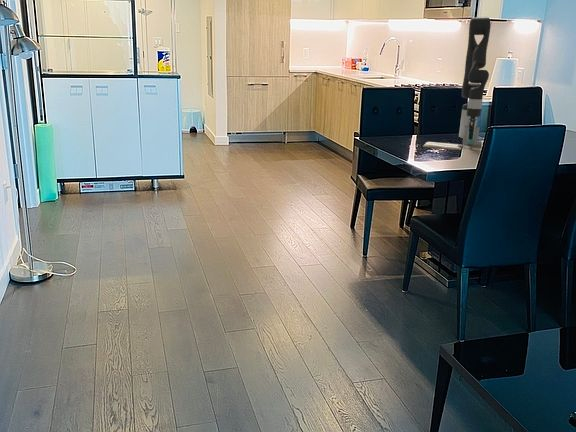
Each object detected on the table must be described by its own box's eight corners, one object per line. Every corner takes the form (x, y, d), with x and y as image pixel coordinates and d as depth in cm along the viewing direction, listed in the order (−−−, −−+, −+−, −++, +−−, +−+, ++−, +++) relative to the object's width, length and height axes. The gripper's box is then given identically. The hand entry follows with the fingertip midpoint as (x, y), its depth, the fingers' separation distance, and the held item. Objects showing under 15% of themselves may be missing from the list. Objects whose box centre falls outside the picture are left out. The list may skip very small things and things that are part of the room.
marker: (466, 144, 316) (469, 122, 312) (473, 144, 315) (476, 122, 311) (466, 145, 313) (468, 123, 309) (472, 145, 312) (475, 123, 308)
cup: (461, 144, 326) (463, 127, 323) (463, 142, 333) (465, 125, 330) (476, 145, 322) (478, 128, 320) (478, 143, 329) (480, 126, 327)
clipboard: (426, 143, 326) (427, 140, 326) (462, 146, 319) (463, 143, 319) (423, 147, 314) (423, 143, 313) (460, 150, 307) (460, 147, 306)
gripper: (468, 105, 315) (464, 136, 320) (466, 108, 303) (462, 140, 308) (482, 106, 312) (478, 137, 318) (480, 109, 300) (476, 141, 305)
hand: (470, 138), depth 313 cm, fingers closed on marker, 3 cm apart
